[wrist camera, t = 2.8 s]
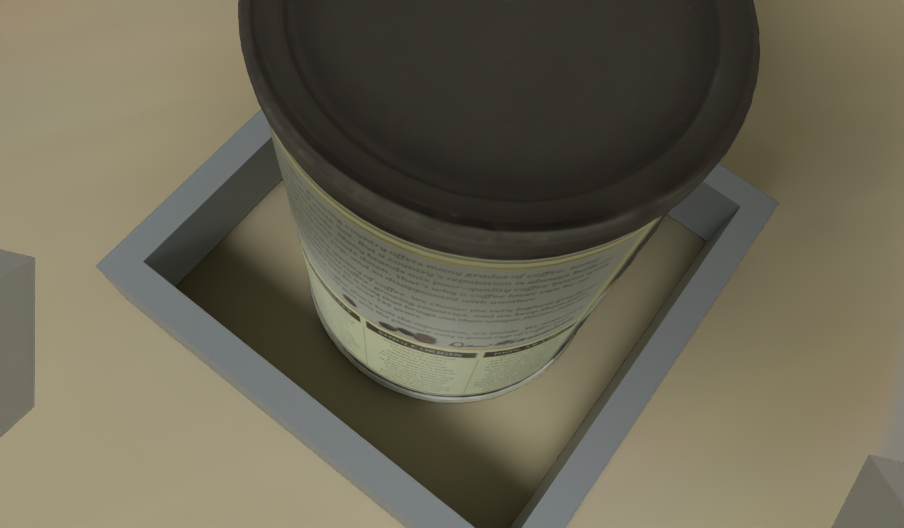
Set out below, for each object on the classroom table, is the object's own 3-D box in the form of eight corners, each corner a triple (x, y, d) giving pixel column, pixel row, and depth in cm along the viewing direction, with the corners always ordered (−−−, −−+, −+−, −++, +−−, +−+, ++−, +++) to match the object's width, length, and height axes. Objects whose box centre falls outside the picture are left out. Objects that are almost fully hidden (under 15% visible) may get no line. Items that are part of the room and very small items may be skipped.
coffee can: (284, 168, 29) (204, -162, 16) (544, 124, 31) (662, -208, 18) (334, 438, 26) (283, 294, 13) (625, 372, 27) (847, 184, 14)
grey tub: (125, 298, 27) (95, 265, 24) (412, 15, 32) (415, -38, 29) (498, 602, 24) (513, 606, 21) (742, 238, 30) (779, 203, 27)
